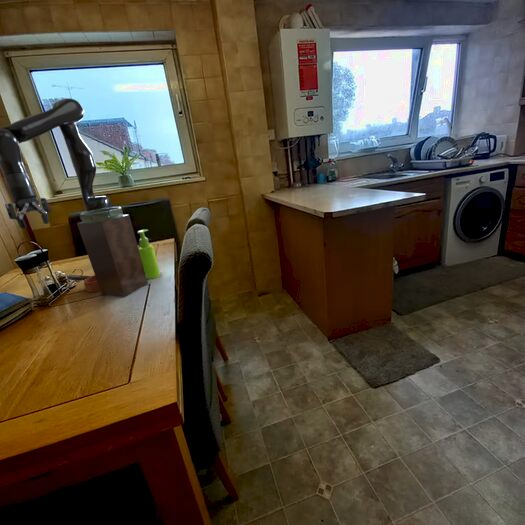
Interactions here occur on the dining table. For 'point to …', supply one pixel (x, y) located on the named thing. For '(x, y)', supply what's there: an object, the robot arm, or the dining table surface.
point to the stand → (112, 251)
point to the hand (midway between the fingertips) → (36, 226)
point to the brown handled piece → (87, 282)
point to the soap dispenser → (148, 257)
